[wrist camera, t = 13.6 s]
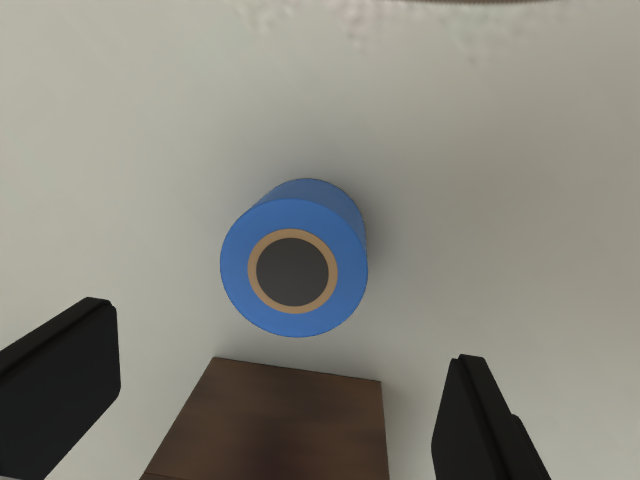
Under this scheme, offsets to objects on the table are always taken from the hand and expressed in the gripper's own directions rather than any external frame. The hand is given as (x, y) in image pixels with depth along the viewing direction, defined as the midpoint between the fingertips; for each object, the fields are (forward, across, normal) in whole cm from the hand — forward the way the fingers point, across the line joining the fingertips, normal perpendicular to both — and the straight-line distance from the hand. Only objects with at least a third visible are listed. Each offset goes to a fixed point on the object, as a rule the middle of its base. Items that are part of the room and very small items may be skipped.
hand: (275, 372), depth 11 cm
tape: (+12, +1, 0) cm, 13 cm away
